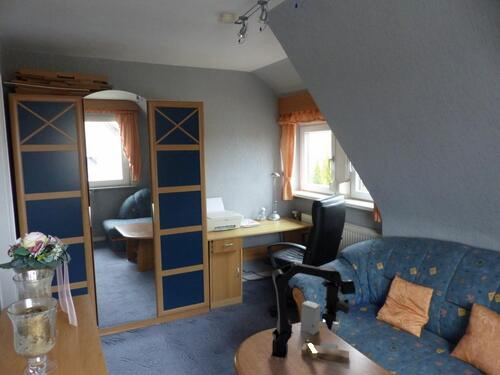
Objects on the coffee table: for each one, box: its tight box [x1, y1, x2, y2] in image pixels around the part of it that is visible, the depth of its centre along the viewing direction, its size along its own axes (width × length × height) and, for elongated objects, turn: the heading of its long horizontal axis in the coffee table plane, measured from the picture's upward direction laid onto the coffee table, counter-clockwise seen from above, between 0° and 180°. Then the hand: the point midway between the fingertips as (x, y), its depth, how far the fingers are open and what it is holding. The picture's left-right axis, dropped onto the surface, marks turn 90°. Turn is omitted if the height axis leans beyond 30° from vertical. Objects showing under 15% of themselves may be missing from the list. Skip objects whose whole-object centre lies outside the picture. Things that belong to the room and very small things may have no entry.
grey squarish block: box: [322, 316, 341, 331], centre depth 174 cm, size 7×6×4 cm
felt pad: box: [319, 341, 338, 349], centre depth 178 cm, size 8×7×1 cm
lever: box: [304, 338, 318, 359], centre depth 168 cm, size 11×3×3 cm, turn 11°
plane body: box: [300, 342, 350, 365], centre depth 170 cm, size 21×6×3 cm, turn 71°
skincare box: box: [300, 300, 322, 336], centre depth 193 cm, size 8×6×15 cm
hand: (331, 326), depth 174 cm, fingers closed on grey squarish block, 6 cm apart
